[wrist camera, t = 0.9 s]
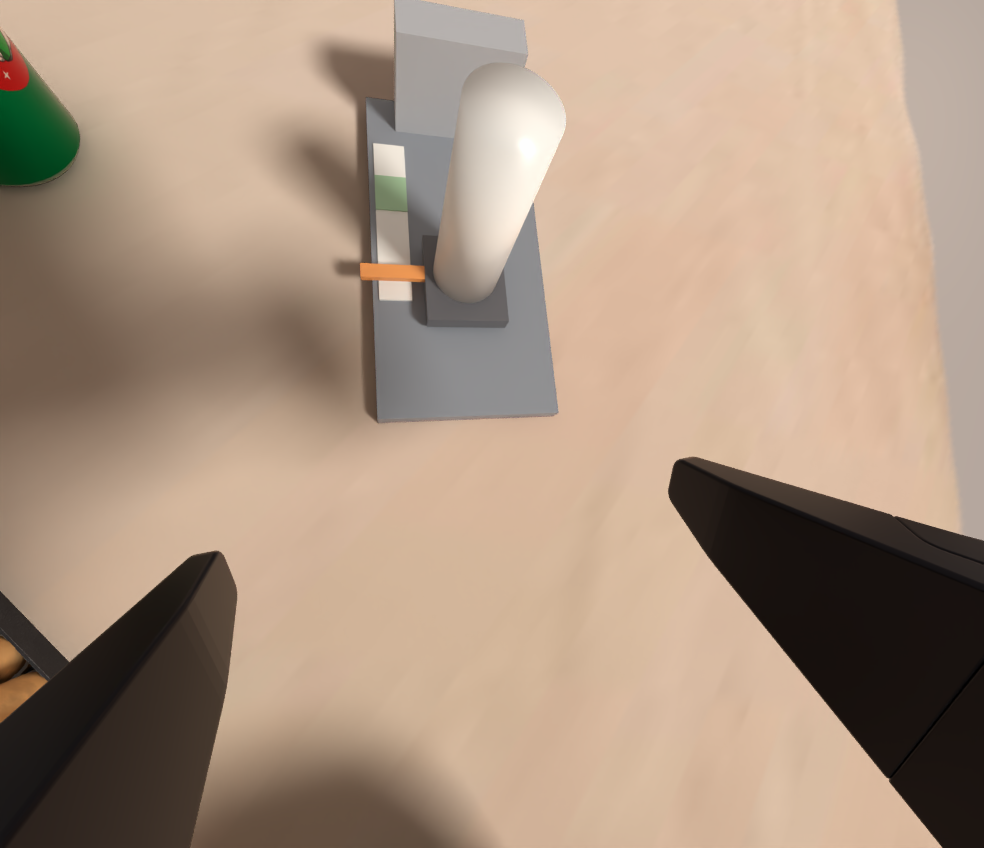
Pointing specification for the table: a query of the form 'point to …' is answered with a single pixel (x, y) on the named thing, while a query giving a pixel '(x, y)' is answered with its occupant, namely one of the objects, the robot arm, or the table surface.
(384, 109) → the gauge board
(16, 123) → the soda can
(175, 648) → the robot arm
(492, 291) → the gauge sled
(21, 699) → the ammunition clip
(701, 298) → the table surface
